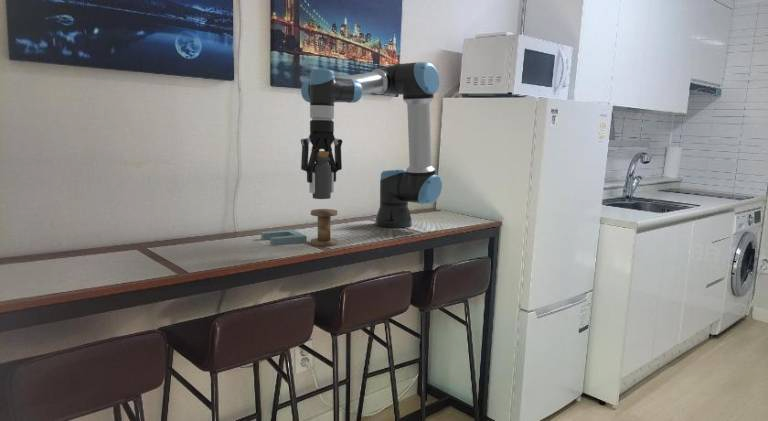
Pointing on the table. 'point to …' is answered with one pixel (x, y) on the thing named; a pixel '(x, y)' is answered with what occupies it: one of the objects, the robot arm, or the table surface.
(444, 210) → the table surface
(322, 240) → the wooden spool
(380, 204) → the robot arm
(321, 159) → the bottle
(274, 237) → the bracket
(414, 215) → the table surface
